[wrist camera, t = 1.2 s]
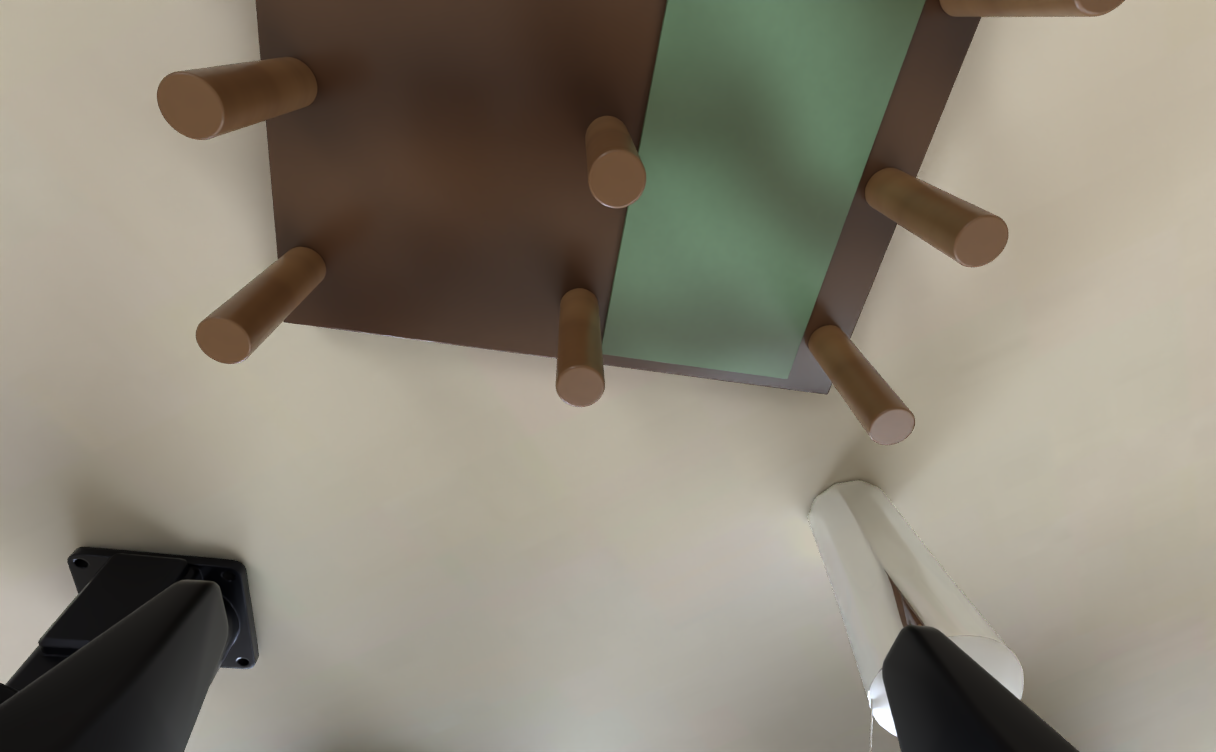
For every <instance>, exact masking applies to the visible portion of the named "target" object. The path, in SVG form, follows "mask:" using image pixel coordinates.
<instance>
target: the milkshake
mask: <svg viewBox="0 0 1216 752" xmlns="http://www.w3.org/2000/svg"><path fill="white" fill-rule="evenodd" d="M807 518H808V522H809V525H810V527H811V530H812V533H813V536H814V539H815V542H816V544H817V547H818V550H819V553H820V556H821V559H822V561H823V564H824V567H825V570H826V573H827V575H828V578H829V581H830V584H831V587H832V590H833V593H834V595H835V598H836V601H837V604H838V607H839V610H840V613H841V616H842V619H843V622H844V625H845V629H846V632H847V635H848V639H849V642H850V645H851V648H852V652H853V655H854V658H855V661H856V664H857V668H858V671H859V674H860V677H861V680H862V683H863V687H864V690H865V693H866V696H867V699H868V702H869V705H870V709H871V711H870V752H872V723H873V716H874V717H875V719H876V720H877V722H878V723H879V724H880V725H881V726H882V727H883V728H884V729H886V730H887V731H888V732H890V733H891V734H893V735H895V736H897V733H896V729H895V725H894V722H893V718H892V714H891V710H890V706H889V702H888V698H887V695H886V691H885V687H884V683H883V678H882V665H883V661H884V659H885V657H886V655H887V654H888V652H889V650H890V648H891V646H892V645H893V643H894V641H895V639H896V637H897V636H898V634H899V632H900V631H901V629H902V628H903V627H905V626H907V625H917V626H930V627H934V628H936V629H938V630H940V631H941V632H942V633H943V634H945V635H946V636H947V637H948V638H949V639H950V640H951V641H953V642H954V643H955V644H956V645H957V646H958V647H960V648H961V649H962V650H963V651H964V652H965V653H966V654H968V655H969V656H970V657H971V658H972V659H973V660H974V661H976V662H977V663H978V664H979V665H980V666H981V667H983V668H984V669H985V670H986V671H987V672H988V673H989V674H991V675H992V676H993V677H994V678H995V679H996V680H997V681H999V682H1000V683H1001V684H1002V685H1003V686H1004V687H1006V688H1007V689H1008V690H1009V691H1010V692H1011V693H1012V694H1014V695H1015V696H1016V697H1017V698H1018V699H1019V700H1021V697H1022V693H1023V687H1024V674H1023V669H1022V666H1021V664H1020V662H1019V660H1018V658H1017V657H1016V655H1015V654H1014V653H1013V652H1012V651H1011V649H1010V648H1009V647H1008V646H1007V644H1006V643H1005V642H1004V641H1003V640H1002V638H1001V637H1000V636H999V635H998V634H997V632H996V631H995V630H994V629H993V628H992V626H991V625H990V624H989V623H988V622H987V620H986V619H985V618H984V617H983V616H982V614H981V613H980V612H979V611H978V610H977V609H976V607H975V606H974V605H973V604H972V603H971V601H970V600H969V599H968V598H967V597H966V595H965V594H964V593H963V592H962V591H961V589H960V588H959V587H958V586H957V584H956V583H955V582H954V581H953V580H952V578H951V577H950V576H949V575H948V573H947V572H946V571H945V569H944V568H943V567H942V566H941V564H940V563H939V562H938V561H937V559H936V558H935V557H934V555H933V554H932V553H931V552H930V550H929V549H928V548H927V547H926V545H925V544H924V543H923V541H922V540H921V539H920V538H919V536H918V535H917V534H916V533H915V531H914V530H913V529H912V527H911V526H910V525H909V524H908V522H907V521H906V520H905V519H904V517H903V516H902V515H901V513H900V512H899V511H898V510H897V508H896V507H895V506H894V505H893V503H892V502H891V501H890V500H889V498H888V497H887V496H886V494H885V493H884V492H883V491H882V490H881V488H879V487H876V486H874V485H871V484H869V483H866V482H864V481H862V480H856V481H850V482H843V483H837V484H834V485H832V486H831V487H830V488H828V489H827V490H825V491H824V492H823V493H821V494H820V495H818V496H817V497H816V498H815V499H814V501H813V504H812V506H811V509H810V511H809V514H808V516H807Z"/></svg>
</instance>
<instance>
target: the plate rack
mask: <svg viewBox="0 0 1216 752" xmlns="http://www.w3.org/2000/svg"><path fill="white" fill-rule="evenodd" d="M1124 1H1125V0H256V11H257V22H258V34H259V46H260V57H261V60H259V61H252V62H244V63H237V64H229V65H222V66H215V67H207V68H200V69H192V70H185V71H178V72H173V73H170V74H168V75H167V76H166V77H164V78H163V80H162V81H161V82H160V84H159V87H158V91H157V101H158V106H159V109H160V111H161V113H162V115H163V117H164V118H165V120H166V121H167V122H168V123H169V124H170V125H171V126H172V127H173V128H174V129H175V130H176V131H178V132H179V133H181V134H182V135H185V136H187V137H189V138H192V139H196V140H207V139H211V138H214V137H217V136H220V135H223V134H226V133H229V132H232V131H235V130H238V129H241V128H244V127H247V126H250V125H253V124H256V123H259V122H262V121H265V120H266V127H267V138H268V150H269V161H270V173H271V184H272V196H273V208H274V219H275V231H276V242H277V254H278V260H277V261H275V262H274V263H273V264H272V265H270V266H269V267H268V268H267V269H266V270H264V271H263V272H262V273H261V274H259V275H258V276H257V277H256V278H254V279H253V280H252V281H251V282H250V283H248V284H247V285H246V286H245V287H243V288H242V289H241V290H240V291H238V292H237V293H236V294H235V295H234V296H232V297H231V298H230V299H229V300H227V301H226V302H225V303H224V304H222V305H221V306H220V307H219V308H217V309H216V310H215V311H214V312H213V313H211V314H210V315H209V316H208V317H206V318H205V319H204V320H203V321H202V322H200V324H199V325H198V327H197V330H196V340H197V343H198V345H199V347H200V348H201V350H202V351H203V352H204V353H205V354H206V355H208V356H209V357H210V358H212V359H214V360H216V361H218V362H221V363H226V364H235V363H239V362H242V361H244V360H246V359H247V358H248V357H249V356H250V355H251V354H252V353H253V352H254V351H255V350H256V349H257V347H258V346H259V345H260V344H261V343H262V342H263V341H264V340H265V339H266V338H267V337H268V336H269V335H270V334H271V333H272V332H273V331H274V330H275V329H276V328H277V327H278V326H279V325H280V324H281V323H282V322H283V321H284V322H286V323H294V324H301V325H309V326H316V327H324V328H331V329H339V330H346V331H354V332H361V333H369V334H376V335H384V336H391V337H399V338H406V339H414V340H421V341H429V342H436V343H444V344H451V345H459V346H467V347H474V348H482V349H489V350H497V351H504V352H512V353H519V354H527V355H534V356H542V357H549V358H557V371H556V391H557V394H558V395H559V397H560V398H561V399H562V400H563V401H564V402H565V403H567V404H569V405H571V406H575V407H585V406H589V405H592V404H593V403H595V402H596V401H598V400H599V399H600V397H601V396H602V394H603V392H604V389H605V380H604V368H603V365H609V366H617V367H624V368H632V369H639V370H647V371H654V372H662V373H669V374H677V375H684V376H692V377H699V378H707V379H714V380H722V381H729V382H737V383H744V384H752V385H759V386H767V387H774V388H782V389H789V390H797V391H804V392H812V393H819V394H828V392H829V390H830V387H831V385H832V383H833V385H834V386H835V388H836V389H837V390H838V392H839V393H840V395H841V396H842V398H843V399H844V400H845V402H846V403H847V405H848V406H849V408H850V409H851V410H852V412H853V413H854V415H855V416H856V418H857V419H858V420H859V422H860V423H861V425H862V426H863V428H864V429H865V430H866V432H867V433H868V435H869V436H870V438H871V439H872V440H873V441H874V442H876V443H878V444H881V445H893V444H896V443H899V442H901V441H903V440H904V439H906V438H907V437H908V436H909V435H910V434H911V432H912V431H913V429H914V426H915V418H914V415H913V413H912V412H911V411H910V410H909V408H908V407H907V406H906V405H905V404H904V403H903V401H902V400H901V399H900V398H899V397H898V395H897V394H896V393H895V392H894V391H893V390H892V388H891V387H890V386H889V385H888V384H887V383H886V381H885V380H884V379H883V378H882V377H881V375H880V374H879V373H878V372H877V371H876V370H875V368H874V367H873V366H872V365H871V364H870V363H869V361H868V360H867V359H866V358H865V357H864V355H863V354H862V353H861V352H860V351H859V350H858V348H857V347H856V346H855V345H854V344H853V343H852V341H851V340H850V338H851V336H852V333H853V331H854V328H855V326H856V323H857V321H858V318H859V316H860V314H861V311H862V309H863V306H864V304H865V301H866V299H867V296H868V294H869V291H870V289H871V287H872V284H873V282H874V279H875V277H876V274H877V272H878V269H879V267H880V264H881V262H882V259H883V257H884V255H885V252H886V250H887V247H888V245H889V242H890V240H891V237H892V235H893V232H894V230H895V228H896V225H897V224H899V225H900V226H902V227H904V228H905V229H907V230H908V231H910V232H911V233H913V234H914V235H916V236H918V237H919V238H921V239H922V240H924V241H925V242H927V243H929V244H930V245H932V246H933V247H935V248H936V249H938V250H939V251H941V252H943V253H944V254H946V255H947V256H949V257H950V258H952V259H953V260H955V261H957V262H958V263H960V264H961V265H963V266H966V267H979V266H983V265H985V264H988V263H990V262H991V261H993V260H994V259H995V258H996V257H997V256H998V255H999V254H1000V253H1001V252H1002V251H1003V249H1004V247H1005V245H1006V243H1007V240H1008V228H1007V225H1006V223H1005V222H1004V220H1003V219H1001V218H1000V217H998V216H996V215H994V214H992V213H990V212H988V211H985V210H983V209H981V208H979V207H977V206H975V205H973V204H971V203H968V202H966V201H964V200H962V199H960V198H958V197H956V196H954V195H951V194H949V193H947V192H945V191H943V190H941V189H939V188H937V187H935V186H932V185H930V184H928V183H926V182H924V181H922V180H920V179H918V178H916V176H917V174H918V171H919V169H920V166H921V164H922V161H923V159H924V156H925V154H926V151H927V149H928V146H929V144H930V142H931V139H932V137H933V134H934V132H935V129H936V127H937V124H938V122H939V119H940V117H941V115H942V112H943V110H944V107H945V105H946V102H947V100H948V97H949V95H950V92H951V90H952V88H953V85H954V83H955V80H956V78H957V75H958V73H959V70H960V68H961V65H962V63H963V61H964V58H965V56H966V53H967V51H968V48H969V46H970V43H971V41H972V38H973V36H974V33H975V31H976V29H977V26H978V24H979V21H980V19H981V17H1093V16H1100V15H1104V14H1106V13H1108V12H1110V11H1112V10H1114V9H1115V8H1116V7H1118V6H1119V5H1120V4H1122V3H1123V2H1124Z"/></svg>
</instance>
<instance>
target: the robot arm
mask: <svg viewBox="0 0 1216 752" xmlns="http://www.w3.org/2000/svg"><path fill="white" fill-rule="evenodd" d="M68 565H69V568H70V571H71V574H72V576H73V579H74V582H75V585H76V588H77V591H78V595H77V596H76V598H75V599H74V600H73V601H72V602H71V603H70V605H69V606H68V607H67V608H66V609H65V610H64V612H63V613H62V614H61V615H60V616H59V617H58V618H57V620H56V621H55V622H54V623H53V624H52V625H51V627H50V628H49V629H48V630H47V631H46V632H45V634H44V635H43V636H42V637H41V638H40V640H39V642H38V643H39V646H38V647H37V648H36V649H35V650H34V652H33V653H32V654H31V655H30V656H29V657H28V659H27V660H26V661H25V662H24V663H23V664H22V666H21V667H20V668H19V669H18V670H17V671H16V673H15V674H14V675H13V676H12V677H11V678H10V680H9V681H8V682H7V683H6V684H5V685H4V684H2V683H0V752H184V750H185V748H186V745H187V743H188V740H189V737H190V735H191V732H192V730H193V727H194V725H195V722H196V719H197V717H198V714H199V712H200V709H201V707H202V704H203V701H204V699H205V696H206V694H207V691H208V689H209V686H210V684H211V683H212V681H213V679H214V677H215V675H216V673H217V672H218V670H219V668H220V667H222V668H237V669H250V668H252V667H253V666H254V665H255V663H256V661H257V659H258V657H259V652H258V646H257V639H256V633H255V626H254V619H253V613H252V606H251V599H250V593H249V586H248V579H247V573H246V568H245V566H244V565H243V564H242V563H240V562H238V561H235V560H229V559H217V558H206V557H194V556H183V555H171V554H160V553H149V552H137V551H126V550H114V549H103V548H91V547H80V548H77V549H76V550H75V551H74V552H73V553H72V554H71V555H70V556H69V558H68ZM882 678H883V683H884V687H885V691H886V695H887V698H888V702H889V706H890V710H891V714H892V718H893V722H894V725H895V729H896V733H897V737H898V741H899V745H900V749H901V752H1079V751H1078V750H1077V749H1076V748H1075V747H1073V746H1072V745H1071V744H1070V743H1069V742H1068V741H1066V740H1065V739H1064V738H1063V737H1062V736H1061V735H1060V734H1058V733H1057V732H1056V731H1055V730H1054V729H1053V728H1052V727H1050V726H1049V725H1048V724H1047V723H1046V722H1045V721H1043V720H1042V719H1041V718H1040V717H1039V716H1038V715H1037V714H1035V713H1034V712H1033V711H1032V710H1031V709H1030V708H1029V707H1027V706H1026V705H1025V704H1024V703H1023V702H1022V701H1020V700H1019V699H1018V698H1017V697H1016V696H1015V695H1014V694H1012V693H1011V692H1010V691H1009V690H1008V689H1007V688H1006V687H1004V686H1003V685H1002V684H1001V683H1000V682H999V681H997V680H996V679H995V678H994V677H993V676H992V675H991V674H989V673H988V672H987V671H986V670H985V669H984V668H983V667H981V666H980V665H979V664H978V663H977V662H976V661H974V660H973V659H972V658H971V657H970V656H969V655H968V654H966V653H965V652H964V651H963V650H962V649H961V648H960V647H958V646H957V645H956V644H955V643H954V642H953V641H951V640H950V639H949V638H948V637H947V636H946V635H945V634H943V633H942V632H941V631H940V630H938V629H936V628H934V627H930V626H917V625H907V626H905V627H903V628H902V629H901V631H900V632H899V634H898V636H897V637H896V639H895V641H894V643H893V645H892V646H891V648H890V650H889V652H888V654H887V655H886V657H885V659H884V661H883V665H882Z"/></svg>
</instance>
